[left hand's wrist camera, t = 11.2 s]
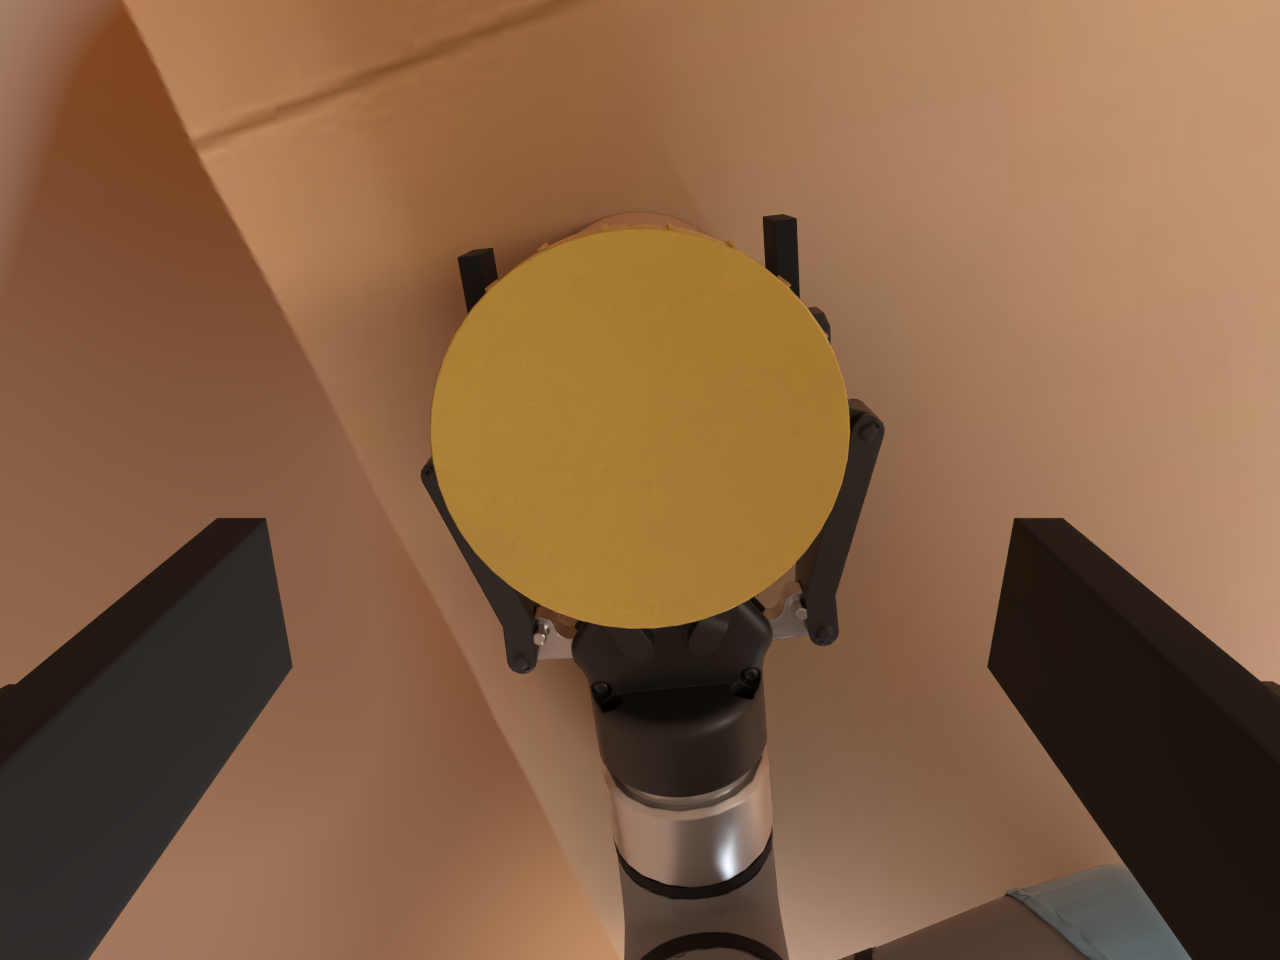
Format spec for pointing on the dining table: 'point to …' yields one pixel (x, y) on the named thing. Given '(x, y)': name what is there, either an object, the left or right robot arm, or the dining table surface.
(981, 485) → the dining table surface
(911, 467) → the dining table surface
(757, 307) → the lid
